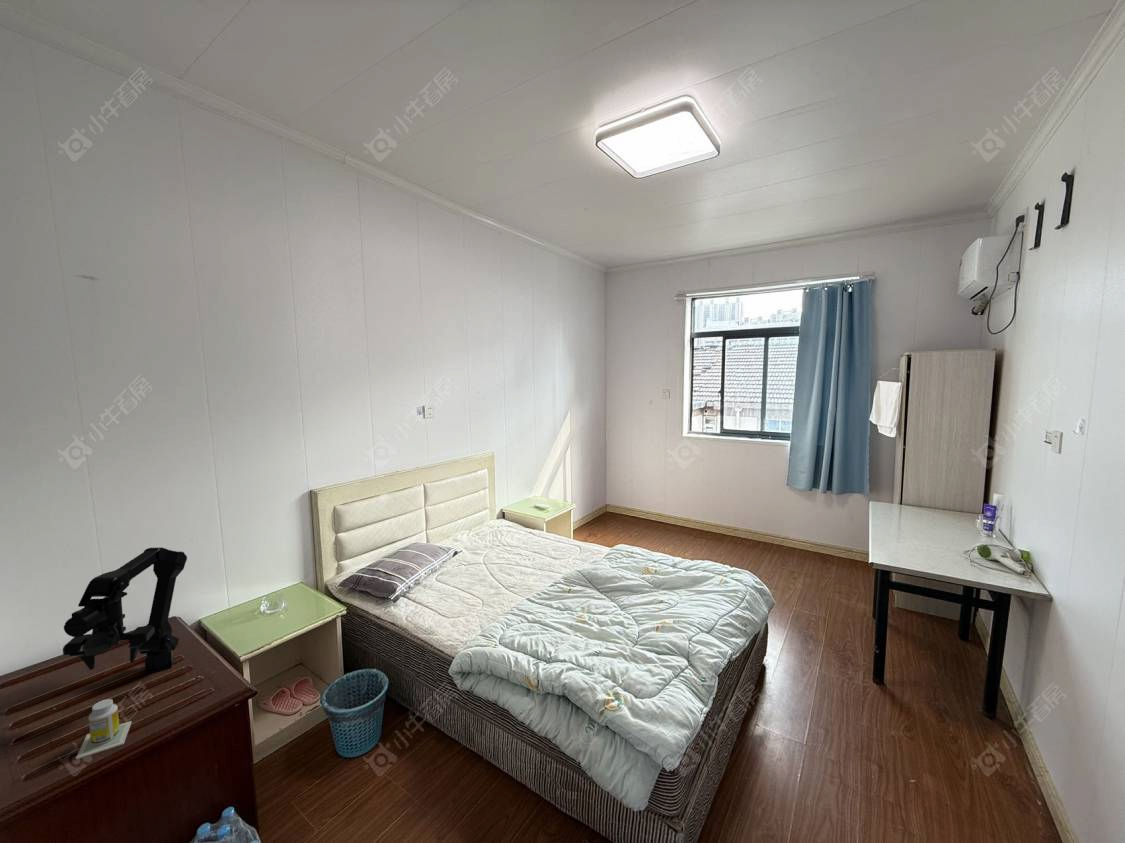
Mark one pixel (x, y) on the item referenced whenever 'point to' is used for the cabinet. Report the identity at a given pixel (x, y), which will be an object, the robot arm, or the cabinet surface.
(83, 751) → the card
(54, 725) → the cabinet surface
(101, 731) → the supplement bottle
